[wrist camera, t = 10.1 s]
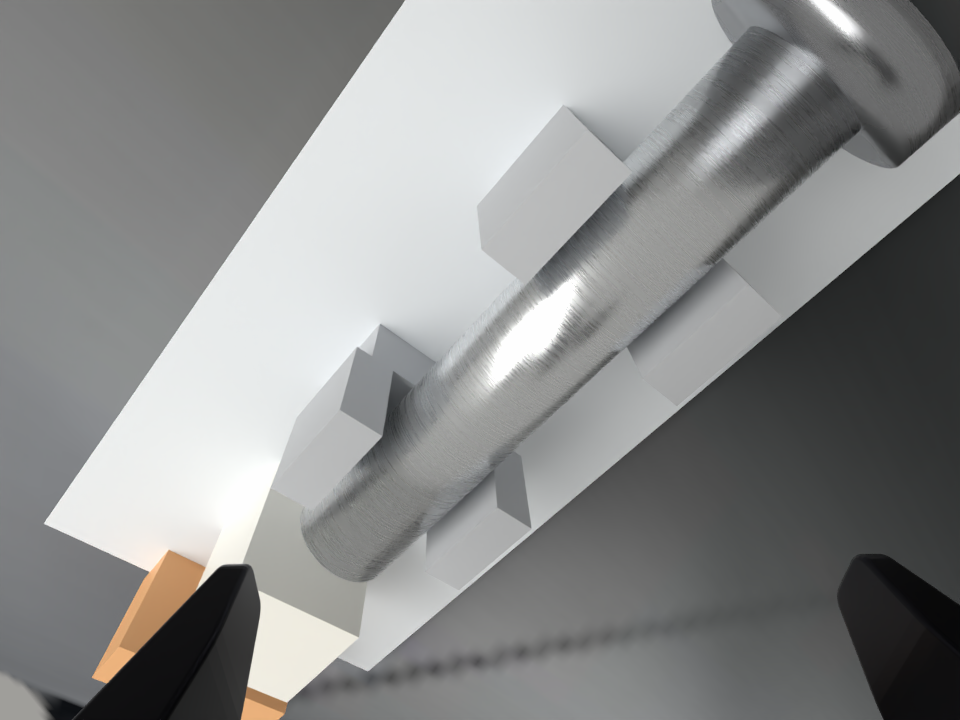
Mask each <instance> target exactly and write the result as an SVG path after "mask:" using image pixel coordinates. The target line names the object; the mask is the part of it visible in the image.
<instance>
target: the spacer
mask: <svg viewBox="0 0 960 720" xmlns="http://www.w3.org/2000/svg"><path fill="white" fill-rule="evenodd" d="M279 464H280V463H279ZM279 464H278V465H277V466H276V467H275V468H274V470H273V471H272V472H271V473H270V474H269V475H268V477H267V478H266V479H265V480H264V481H263V482H262V484H261V485H260V486H259V487H258V488H257V489H256V491H255V492H254V493H253V494H252V495H251V496H250V498H249V499H248V500H247V501H246V502H245V504H244V505H243V506H242V507H241V508H240V509H239V511H238V512H237V513H236V514H235V515H234V516H233V518H232V519H231V520H230V521H229V522H228V523H227V525H226V526H225V527H224V528H223V529H222V531H221V533H220V536H219V538H218V540H217V543H216V545H215V547H214V550H213V552H212V554H211V557H210V559H209V561H208V564H207V566H206V568H205V571H204V573H203V575H202V577H201V580H200V582H199V584H198V587H197V589H198V588H199V587H200V586H201V585H202V584H203V583H204V582H205V581H206V580H207V579H208V578H209V577H210V575H211V574H212V573H213V572H214V571H215V570H216V569H217V568H219V567H220V566H222V565H224V564H249V565H250V566H251V567H252V569H253V571H254V575H255V580H256V584H257V588H258V593H259V597H260V603H261V612H260V620H259V625H258V630H257V636H256V641H255V647H254V652H253V658H252V663H251V669H250V674H249V680H248V685H247V687H250V688H252V689H255V690H257V691H259V692H262V693H264V694H267V695H269V696H272V697H274V698H277V699H279V700H282V701H284V702H288V701H289V700H290V699H291V698H292V697H294V696H295V695H296V694H297V693H298V692H299V691H300V690H301V689H302V688H304V687H305V686H306V685H307V684H308V683H309V682H310V681H311V680H312V679H314V678H315V677H316V676H317V675H318V674H319V673H320V672H321V671H322V670H324V669H325V668H326V667H327V666H328V665H329V664H330V663H331V662H332V661H334V660H335V659H336V658H337V657H338V656H339V655H340V654H341V653H342V652H344V651H345V650H346V649H347V648H348V647H349V646H350V645H351V644H352V643H354V642H355V641H356V640H357V639H358V638H359V635H360V628H361V621H362V614H363V607H364V601H365V594H366V587H367V582H352V581H348V580H344V579H342V578H340V577H338V576H336V575H334V574H332V573H331V572H329V571H328V570H327V569H325V568H324V567H323V566H322V565H321V564H320V563H319V562H318V561H317V560H316V559H315V557H314V556H313V555H312V553H311V552H310V550H309V549H308V547H307V545H306V543H305V541H304V538H303V535H302V531H301V525H300V517H301V512H302V509H303V507H304V506H303V505H301V504H299V503H297V502H295V501H294V500H292V499H290V498H288V497H286V496H284V495H282V494H281V493H279V492H277V491H275V490H273V489H271V486H272V483H273V480H274V477H275V475H276V472H277V469H278V467H279ZM197 589H196V590H197Z"/></svg>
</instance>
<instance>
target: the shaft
mask: <svg viewBox="0 0 960 720" xmlns="http://www.w3.org/2000/svg"><path fill="white" fill-rule="evenodd" d="M711 2H712V7H713V11H714V14H715V16H716V18H717V20H718V22H719V24H720V26H721V28H722V30H723V31H724V33H725V34H726V36H727V37H728V39H729V40H730V42H731V43H732V46H731V47H730V48H729V50H728V51H727V52H726V53H725V54H724V55H723V56H722V57H721V58H720V59H719V60H718V61H717V62H716V63H715V65H714V66H713V67H712V68H711V69H710V70H709V71H708V72H707V73H706V74H705V75H704V76H703V77H702V78H701V80H700V81H699V82H698V83H697V84H696V85H695V86H694V87H693V88H692V89H691V90H690V91H689V92H688V94H687V95H686V96H685V97H684V98H683V99H682V100H681V101H680V102H679V103H678V104H677V105H676V106H675V107H674V109H673V110H672V111H671V112H670V113H669V114H668V115H667V116H666V117H665V118H664V119H663V120H662V121H661V122H660V124H659V125H658V126H657V127H656V128H655V129H654V130H653V131H652V132H651V133H650V134H649V135H648V136H647V137H646V139H645V140H644V141H643V142H642V143H641V144H640V145H639V146H638V147H637V148H636V149H635V150H634V151H633V152H632V154H631V155H630V156H629V157H628V158H627V159H626V160H625V161H624V162H623V163H624V164H625V165H626V166H627V167H628V168H629V169H630V170H631V172H632V173H631V174H630V175H629V176H628V177H627V178H626V180H625V181H624V182H623V183H622V184H621V185H620V186H619V187H618V188H617V189H616V190H615V191H614V192H613V193H612V194H611V195H610V196H609V198H608V199H607V200H606V201H605V202H604V203H603V204H602V205H601V206H600V207H599V208H598V209H597V210H596V211H595V212H594V213H593V214H592V215H591V217H590V218H589V219H588V220H587V221H586V222H585V223H584V224H583V225H582V226H581V227H580V228H579V229H578V230H577V231H576V232H575V233H574V234H573V236H572V237H571V238H570V239H569V240H568V241H567V242H566V243H565V244H564V245H563V246H562V247H561V248H560V249H559V250H558V251H557V252H556V254H555V255H554V256H553V257H552V258H551V259H550V260H549V261H548V262H547V263H546V264H545V265H544V266H543V267H542V268H541V269H540V270H539V271H538V273H537V274H536V275H535V276H534V277H533V278H532V279H531V280H530V281H529V282H528V283H527V284H526V285H525V284H524V283H522V282H521V281H520V280H519V279H517V278H515V279H514V280H513V281H512V282H511V283H510V284H509V285H508V286H507V288H506V289H505V290H504V291H503V292H502V293H501V294H500V295H499V296H498V297H497V298H496V299H495V300H494V301H493V303H492V304H491V305H490V306H489V307H488V308H487V309H486V310H485V311H484V312H483V313H482V314H481V315H480V317H479V318H478V319H477V320H476V321H475V322H474V323H473V324H472V325H471V326H470V327H469V328H468V329H467V330H466V332H465V333H464V334H463V335H462V336H461V337H460V338H459V339H458V340H457V341H456V342H455V343H454V344H453V345H452V347H451V348H450V349H449V350H448V351H447V352H446V353H445V354H444V355H443V356H442V357H441V358H440V359H439V360H438V362H437V363H436V364H435V365H434V366H433V367H432V368H431V369H430V370H429V371H428V372H427V373H426V374H425V375H424V377H423V378H422V379H421V380H420V381H419V382H418V383H417V384H416V385H415V386H414V387H413V388H412V389H411V390H410V392H409V393H408V394H407V395H406V396H405V397H404V398H403V399H402V400H401V401H400V402H399V403H398V404H397V405H396V407H395V408H394V409H393V410H392V411H391V412H390V413H389V414H388V415H387V416H386V418H385V424H384V430H383V436H382V437H381V438H380V440H379V441H378V442H377V443H376V444H375V445H374V446H373V447H372V448H371V449H370V450H369V451H368V452H367V453H366V454H365V455H364V456H363V457H362V459H361V460H360V461H359V462H358V463H357V464H356V465H355V466H354V467H353V468H352V469H351V470H350V471H349V472H348V473H347V474H346V475H345V476H344V478H343V479H342V480H341V481H340V482H339V483H338V484H337V485H336V486H335V487H334V488H333V489H332V490H331V491H330V492H329V493H328V494H327V496H326V497H325V498H324V499H323V500H322V501H321V502H320V503H319V504H318V505H317V506H316V507H315V508H314V509H313V510H310V509H308V508H306V507H305V506H304V507H303V509H302V512H301V517H300V525H301V531H302V535H303V538H304V541H305V543H306V545H307V547H308V549H309V550H310V552H311V553H312V555H313V556H314V557H315V559H316V560H317V561H318V562H319V563H320V564H321V565H322V566H323V567H324V568H325V569H327V570H328V571H329V572H331V573H332V574H334V575H336V576H338V577H340V578H342V579H344V580H348V581H352V582H368V581H371V580H373V579H375V578H377V577H378V576H379V575H380V574H382V573H383V572H384V571H385V570H386V569H387V568H388V567H389V566H390V565H391V564H392V563H393V562H395V561H396V560H397V559H398V558H399V557H400V556H401V555H402V554H403V553H404V552H405V551H406V550H407V549H409V548H410V547H411V546H412V545H413V544H414V543H415V542H416V541H417V540H418V539H419V538H420V537H422V536H423V535H424V534H425V533H426V532H427V531H428V530H429V529H430V528H431V527H432V526H433V525H435V524H436V523H437V522H438V521H439V520H440V519H441V518H442V517H443V516H444V515H445V514H446V513H447V512H449V511H450V510H451V509H452V508H453V507H454V506H455V505H456V504H457V503H458V502H459V501H460V500H462V499H463V498H464V497H465V496H466V495H467V494H468V493H469V492H470V491H471V490H472V489H473V488H475V487H476V486H477V485H478V484H479V483H480V482H481V481H482V480H483V479H484V478H485V477H486V476H488V475H489V474H490V473H491V472H492V471H493V470H494V469H495V468H496V467H497V466H498V465H499V464H500V463H502V462H503V461H504V460H505V459H506V458H507V457H508V456H509V455H510V454H511V453H512V452H513V451H515V450H516V449H517V448H518V447H519V446H520V445H521V444H522V443H523V442H524V441H525V440H526V439H528V438H529V437H530V436H531V435H532V434H533V433H534V432H535V431H536V430H537V429H538V428H539V427H541V426H542V425H543V424H544V423H545V422H546V421H547V420H548V419H549V418H550V417H551V416H552V415H553V414H555V413H556V412H557V411H558V410H559V409H560V408H561V407H562V406H563V405H564V404H565V403H566V402H568V401H569V400H570V399H571V398H572V397H573V396H574V395H575V394H576V393H577V392H578V391H579V390H581V389H582V388H583V387H584V386H585V385H586V384H587V383H588V382H589V381H590V380H591V379H592V378H593V377H595V376H596V375H597V374H598V373H599V372H600V371H601V370H602V369H603V368H604V367H605V366H606V365H608V364H609V363H610V362H611V361H612V360H613V359H614V358H615V357H616V356H617V355H618V354H619V353H621V352H622V351H623V350H624V349H625V348H626V347H627V346H628V345H629V344H630V343H631V342H632V341H634V340H635V339H636V338H637V337H638V336H639V335H640V334H641V333H642V332H643V331H644V330H645V329H646V328H648V327H649V326H650V325H651V324H652V323H653V322H654V321H655V320H656V319H657V318H658V317H659V316H661V315H662V314H663V313H664V312H665V311H666V310H667V309H668V308H669V307H670V306H671V305H672V304H674V303H675V302H676V301H677V300H678V299H679V298H680V297H681V296H682V295H683V294H684V293H685V292H687V291H688V290H689V289H690V288H691V287H692V286H693V285H694V284H695V283H696V282H697V281H698V280H699V279H701V278H702V277H703V276H704V275H705V274H706V273H707V272H708V271H709V270H710V269H711V268H712V267H714V266H715V265H716V264H717V263H718V262H719V261H720V260H721V259H722V258H723V257H724V256H725V255H727V254H728V253H729V252H730V251H731V250H732V249H733V248H734V247H735V246H736V245H737V244H738V243H739V242H741V241H742V240H743V239H744V238H745V237H746V236H747V235H748V234H749V233H750V232H751V231H752V230H754V229H755V228H756V227H757V226H758V225H759V224H760V223H761V222H762V221H763V220H764V219H765V218H767V217H768V216H769V215H770V214H771V213H772V212H773V211H774V210H775V209H776V208H777V207H778V206H780V205H781V204H782V203H783V202H784V201H785V200H786V199H787V198H788V197H789V196H790V195H791V194H792V193H794V192H795V191H796V190H797V189H798V188H799V187H800V186H801V185H802V184H803V183H804V182H805V181H807V180H808V179H809V178H810V177H811V176H812V175H813V174H814V173H815V172H816V171H817V170H818V169H820V168H821V167H822V166H823V165H824V164H825V163H826V162H827V161H828V160H829V159H830V158H831V157H833V156H834V155H835V154H836V153H837V152H838V151H839V150H840V149H841V148H842V149H844V150H846V151H847V152H849V153H851V154H852V155H854V156H856V157H858V158H860V159H862V160H864V161H866V162H868V163H870V164H873V165H876V166H879V167H883V168H896V167H899V166H900V165H901V164H902V163H903V162H904V161H906V160H907V159H908V158H909V157H910V156H911V155H912V154H914V153H915V152H916V151H917V150H918V149H919V148H920V147H922V146H923V145H924V144H925V143H926V142H927V141H928V140H930V139H931V138H932V137H933V136H934V135H935V134H936V133H937V132H939V131H940V130H941V129H942V128H943V127H944V126H945V125H947V124H948V123H949V122H950V121H951V120H952V119H953V118H955V117H956V116H957V115H958V114H959V113H960V72H959V70H958V67H957V65H956V63H955V61H954V59H953V57H952V55H951V53H950V52H949V50H948V49H947V47H946V45H945V44H944V42H943V41H942V39H941V38H940V36H939V35H938V34H937V32H936V31H935V30H934V28H933V27H932V26H931V24H930V23H929V22H928V21H927V19H926V18H925V17H924V16H923V15H922V14H921V12H920V11H919V10H918V9H917V8H916V7H915V6H914V5H913V4H912V3H911V2H910V1H909V0H711Z"/></svg>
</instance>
